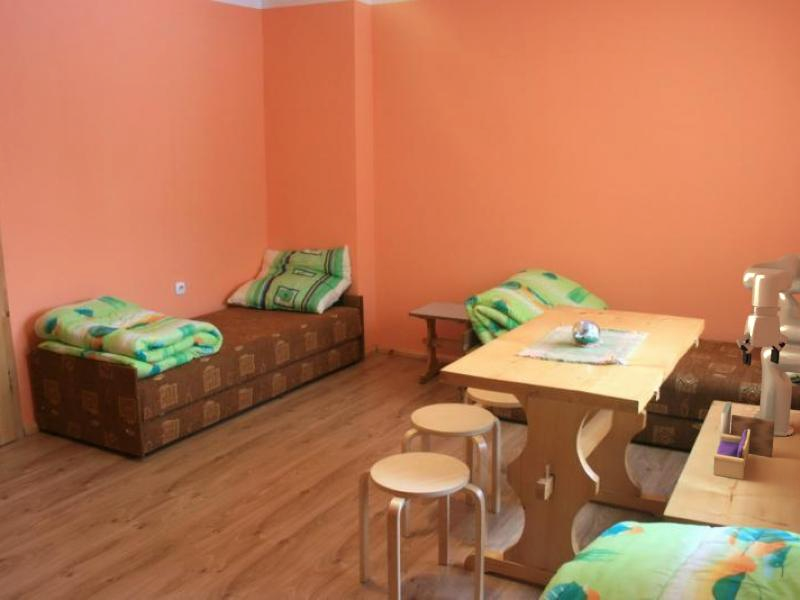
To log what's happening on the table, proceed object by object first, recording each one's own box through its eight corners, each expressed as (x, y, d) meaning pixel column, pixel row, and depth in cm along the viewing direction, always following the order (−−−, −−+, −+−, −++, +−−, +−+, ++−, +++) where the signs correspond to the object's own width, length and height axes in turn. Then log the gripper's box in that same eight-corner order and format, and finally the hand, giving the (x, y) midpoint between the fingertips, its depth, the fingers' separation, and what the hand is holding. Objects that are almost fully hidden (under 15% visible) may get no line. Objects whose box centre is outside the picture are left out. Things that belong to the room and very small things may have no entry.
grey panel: (719, 445, 241) (721, 414, 239) (724, 431, 254) (726, 401, 252) (725, 446, 240) (727, 415, 238) (730, 432, 253) (732, 402, 251)
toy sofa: (719, 452, 236) (721, 422, 235) (748, 457, 232) (751, 427, 230) (711, 475, 218) (713, 444, 217) (743, 481, 214) (745, 449, 212)
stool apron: (729, 450, 237) (731, 416, 235) (730, 449, 238) (732, 414, 236) (771, 457, 231) (774, 422, 229) (772, 455, 232) (774, 420, 230)
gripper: (781, 307, 231) (777, 359, 234) (731, 310, 228) (728, 362, 231) (797, 312, 224) (793, 365, 227) (746, 315, 221) (743, 368, 224)
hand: (760, 363), depth 229 cm, fingers open, 9 cm apart
